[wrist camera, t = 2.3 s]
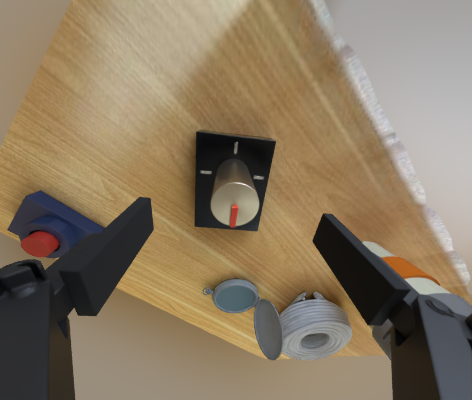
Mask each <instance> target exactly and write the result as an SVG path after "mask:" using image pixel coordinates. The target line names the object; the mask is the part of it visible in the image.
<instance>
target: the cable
mask: <svg viewBox="0 0 472 400" xmlns="http://www.w3.org/2000/svg"><path fill="white" fill-rule="evenodd" d="M306 294H307V292H304V293H302V294H300V295H299V296H298V297H297V298H296V299H295V300H294V301H293V302H292V303H291V304H290V305H289V306H288V308H286V309H285V310H284V311H283V312H282V313H281V314H280V315H279V316H280V319H281V322H282V326H283V333H284V344H283V350H282V352H283V353H284V354H286V355H287V356H289V357H292V358H295V359H300V360H316V359H321V358H325V357H328V356H331V355H333V354H335V353H336V352H338V351H339V350H341V349H342V348H343V347H344V346H345V345H346V344H347V343H348V342H349V341H350V339H351V336H352V329H351V325H350V322H349V320H348V316H347V314H346V312H345V311H344V310H343V309H342V308H340V307H339V306H338V305H336V304H334V303H332V302H330V301H327V300H326V299H325V298H323V296H322V295H321V294H320V293H317V292H314V293H313V295H314V297H315V298H316V299H313V300H306V301H304V300H305V298H304V297H305V296H306ZM301 299H302V300H303V301H301V302H298V301H300V300H301Z"/></svg>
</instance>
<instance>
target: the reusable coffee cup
mask: <svg viewBox="0 0 472 400" xmlns="http://www.w3.org/2000/svg"><path fill="white" fill-rule="evenodd" d="M362 243H363V244H364V245H365V246H366V247H367V248H368V249H369V250H370V251H371V252H373V253H375V254H376V255H378V256H379V257H381V258H382V259H383V260H384V261H385V262H386V263H387V264H388V265H389V266H391V267H392V268H393V269H394V270H395V272H397V273H398V274H399V275H400V276H401V277H402V278H403V279H404V280H406V281H407V282H408V283H409V284H410V285H411V286H412V287H413V288H414V289H415V290H416V291H417V292H418V293H419V294H425V295H429V296H431V297H434V298H436V299H438V300H439V301H441V302H443V303H444V304H445V305H447V306H448V307H449V308H450V309H451V310H453V311H454V312H455V313H458V314H461V315H464V316H467V317H468V316H469V315H470V314H471V313H472V306H471V305H470V304H469V303H467V302H466V301H465V300H464V299H463V298H461V297H460V296H458V295H455V294H451V293H450V292H448V291H447V290H445V289H444V288H442V287H441V286H440V284H439V283H438V281H437V280H435V279H434V278H432V277H431V276H429V275H428V274H426V273H425V272H423V271H422V270H420V269H419V268H417V267H415V266H414V265H412V264H411V263H409V262H408V261H406V260H405V259H403V258H400V257H396V256H394V255H393V254H391V253H390V252H388V251H387V250H385V249H384V248H382V247H381V246H379V245H378V244H376V243H374V242H369V241H366V242H362ZM362 318H363V317H362ZM392 325H393V324H392V323H391V322H390V320H389V319H387V320H386V321H385V323H384V324H383V325H382V326H371V325H370V327H371V329H372V334H373V337H374V339H375V340H376V342H377V343H378V344H379V346H380V347H381V348H382V349H383V351H384V352H385V353H386V355H387V356H388V357H389V358H390V360H391V344H390V343H389V342H390V337H388V338H387V339H386V340H383V336H384V335H385V334H386V332H387V331H388V330H389V329H390V328H391V327H392Z"/></svg>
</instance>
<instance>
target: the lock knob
mask: <svg viewBox="0 0 472 400" xmlns="http://www.w3.org/2000/svg"><path fill="white" fill-rule="evenodd" d="M258 209H259V198H258V195H257V193H256V190H255V187H254V184H253V182H252V179H251V176H250V173H249V171H248V168H247V166H246V165H245V164H244V163H243V162H242V161H240V160H237V159H228V160H226V161H224V162H222V163H221V164H220V165H219V167H218V169H217V173H216V178H215V183H214V188H213V193H212V198H211V210H212V213H213V215H214V216H215V217H216V219H217V220H219V221H220V222H222V223H224V224H226V225H230V227H234V228H235V227H236V226H239V225H243V224H246V223H248V222H249V221H251V220H252V219H253V218H254V217H255V215H256V214H257V212H258Z"/></svg>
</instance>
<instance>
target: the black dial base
mask: <svg viewBox="0 0 472 400" xmlns="http://www.w3.org/2000/svg"><path fill="white" fill-rule="evenodd" d="M275 144H276V141H275V140H273V139H271V138H265V137H257V136H248V135H240V134H232V133H224V132H216V131H208V130H199V131H197V132H196V182H195V227H207V228H220V229H234V230H247V231H258V226H259V221H260V216H261V211H262V206H263V202H264V197H265V192H266V187H267V182H268V178H269V173H270V168H271V163H272V158H273V154H274V149H275ZM228 159H237V160H240V161H242V162H243V163H244V164H245V165H246V166H247V168H248V171H249V173H250V176H251V179H252V182H253V184H254V187H255V190H256V193H257V195H258V198H259V209H258V212H257V214H256V215H255V217H254V218H253V219H252V220H251V221H249V222H248V223H246V224H243V225H239V226H236V227H235V228H234V227H230V225H226V224H224V223H222V222H220V221H219V220H217V219H216V217H215V216H214V215H213V213H212V210H211V198H212V193H213V188H214V183H215V178H216V173H217V169H218V167H219V165H220V164H221V163H222V162H224V161H226V160H228Z"/></svg>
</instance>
